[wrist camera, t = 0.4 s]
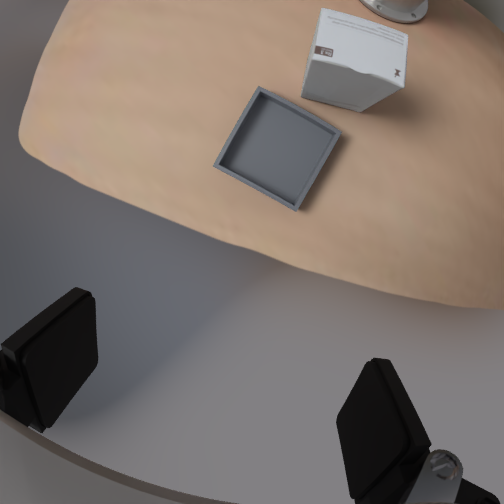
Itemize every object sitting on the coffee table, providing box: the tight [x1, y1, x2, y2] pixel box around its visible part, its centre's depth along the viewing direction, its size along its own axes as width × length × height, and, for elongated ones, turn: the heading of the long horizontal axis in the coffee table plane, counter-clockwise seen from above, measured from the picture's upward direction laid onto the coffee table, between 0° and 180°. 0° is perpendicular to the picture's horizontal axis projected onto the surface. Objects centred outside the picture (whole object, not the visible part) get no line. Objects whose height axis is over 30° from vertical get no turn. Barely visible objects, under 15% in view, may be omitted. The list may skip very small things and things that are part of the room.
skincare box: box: [301, 8, 408, 112], centre depth 25 cm, size 8×6×15 cm
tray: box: [213, 86, 342, 212], centre depth 34 cm, size 11×11×3 cm
